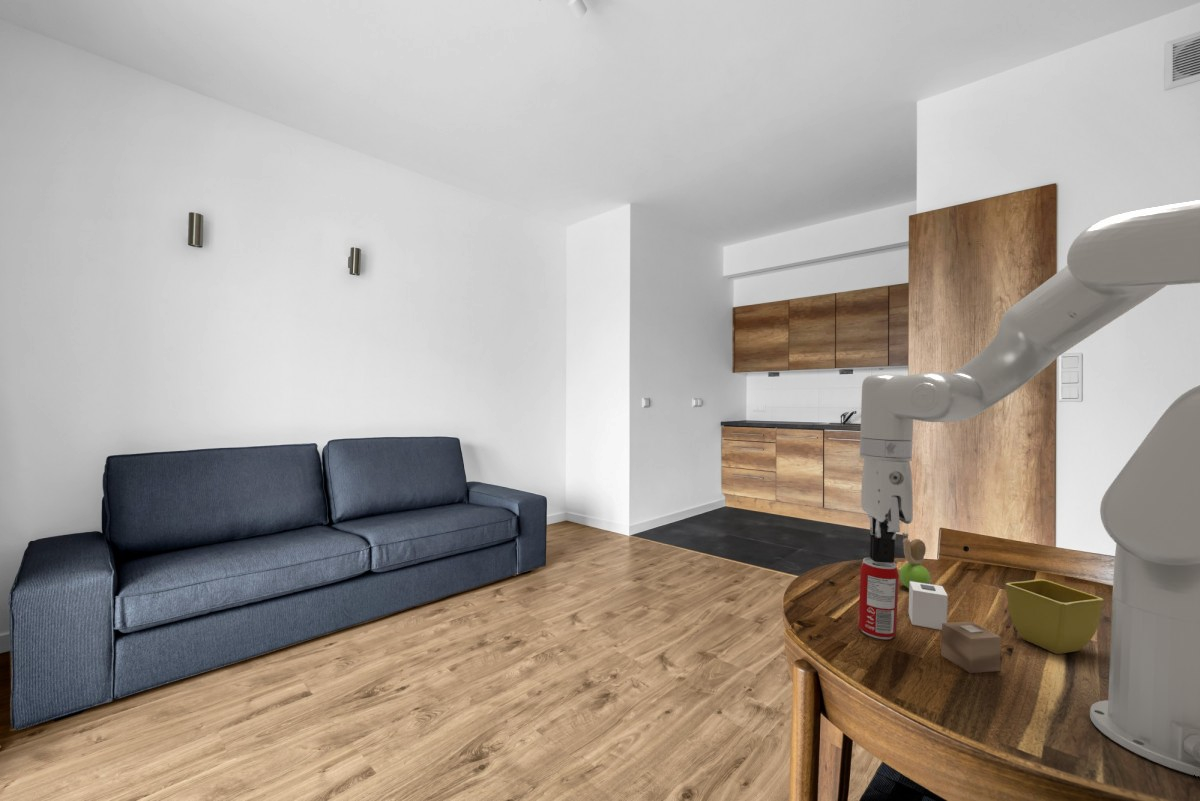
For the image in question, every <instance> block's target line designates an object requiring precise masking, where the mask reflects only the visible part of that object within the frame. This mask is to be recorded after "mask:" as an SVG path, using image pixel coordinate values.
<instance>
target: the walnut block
mask: <svg viewBox="0 0 1200 801" xmlns="http://www.w3.org/2000/svg"><path fill="white" fill-rule="evenodd" d="M940 642H941V646H940V648H941V649H940V656H941V657H943V658H945V659H946V660H948V661H949V662H951V663H953V664H954V665H956V666H958V667H959V668H962V669H963V670H965V671H966V672H968V673H969V674H973V673H975V674H977V673H986V672H988V673H989V672H999V671H1001V655H1002V654H1001V650H1002V648H1001V647H1002V636H1000V635H998V634H996V633H994V632H992V631H990V630H988V629H986V628H984V627H982V626H981V625H978V624H976V623H975V622H972V621H959V622H958V621H956V622H947V623H942V630H941V641H940Z"/></svg>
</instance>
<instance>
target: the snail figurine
mask: <svg viewBox="0 0 1200 801" xmlns="http://www.w3.org/2000/svg"><path fill="white" fill-rule="evenodd" d="M901 534H902V536H903V538H902V539H903V540H902V544H903V554H904V557H905V560H906V561H907V562H908V563H905V564H904V565H903V566H902V567H901V568H900V569H899V572H898V575H899V579H900V582H901V583H902V585H903V586H905V587H906V588H907V589H909V585H910V581H912V582H919V583H925V584H931V580H932V579H931V574H930V572H929V571H928V569H927V568H926V567H925V566H923V565H922V563H923V562H924V557H925V555H926V550H927V549H926V543H925V542H924V541H923V540H921V539H920V538H915V539H913V540H910V539H909V538H908V537H909V533H908V532H907V533H906V532H902V533H901ZM905 536H906V537H905Z"/></svg>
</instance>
